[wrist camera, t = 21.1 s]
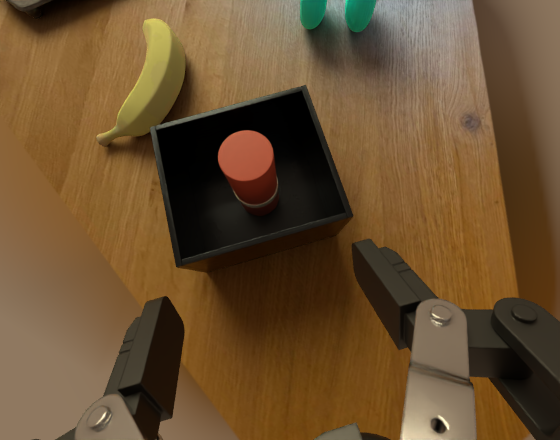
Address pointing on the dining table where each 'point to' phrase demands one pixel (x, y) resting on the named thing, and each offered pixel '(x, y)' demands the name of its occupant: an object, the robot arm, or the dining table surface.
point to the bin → (220, 196)
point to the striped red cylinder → (250, 171)
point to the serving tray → (29, 6)
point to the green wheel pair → (356, 13)
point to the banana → (151, 84)
